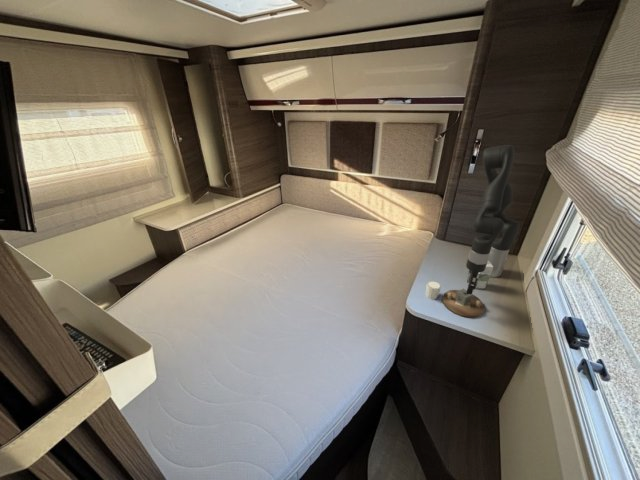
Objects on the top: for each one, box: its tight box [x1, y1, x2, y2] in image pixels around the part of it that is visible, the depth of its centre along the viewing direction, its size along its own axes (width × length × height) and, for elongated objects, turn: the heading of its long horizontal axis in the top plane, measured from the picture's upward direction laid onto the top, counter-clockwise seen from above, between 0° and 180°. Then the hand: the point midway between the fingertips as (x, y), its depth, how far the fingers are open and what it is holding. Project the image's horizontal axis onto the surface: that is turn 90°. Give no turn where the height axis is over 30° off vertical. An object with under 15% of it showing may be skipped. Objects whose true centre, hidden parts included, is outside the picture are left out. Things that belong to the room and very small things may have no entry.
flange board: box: [441, 289, 485, 319], centre depth 127 cm, size 18×18×4 cm
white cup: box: [425, 280, 442, 300], centre depth 133 cm, size 7×7×7 cm
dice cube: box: [454, 288, 474, 306], centre depth 127 cm, size 5×5×5 cm
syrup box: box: [475, 261, 493, 290], centre depth 137 cm, size 6×6×14 cm
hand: (469, 288), depth 123 cm, fingers open, 8 cm apart
